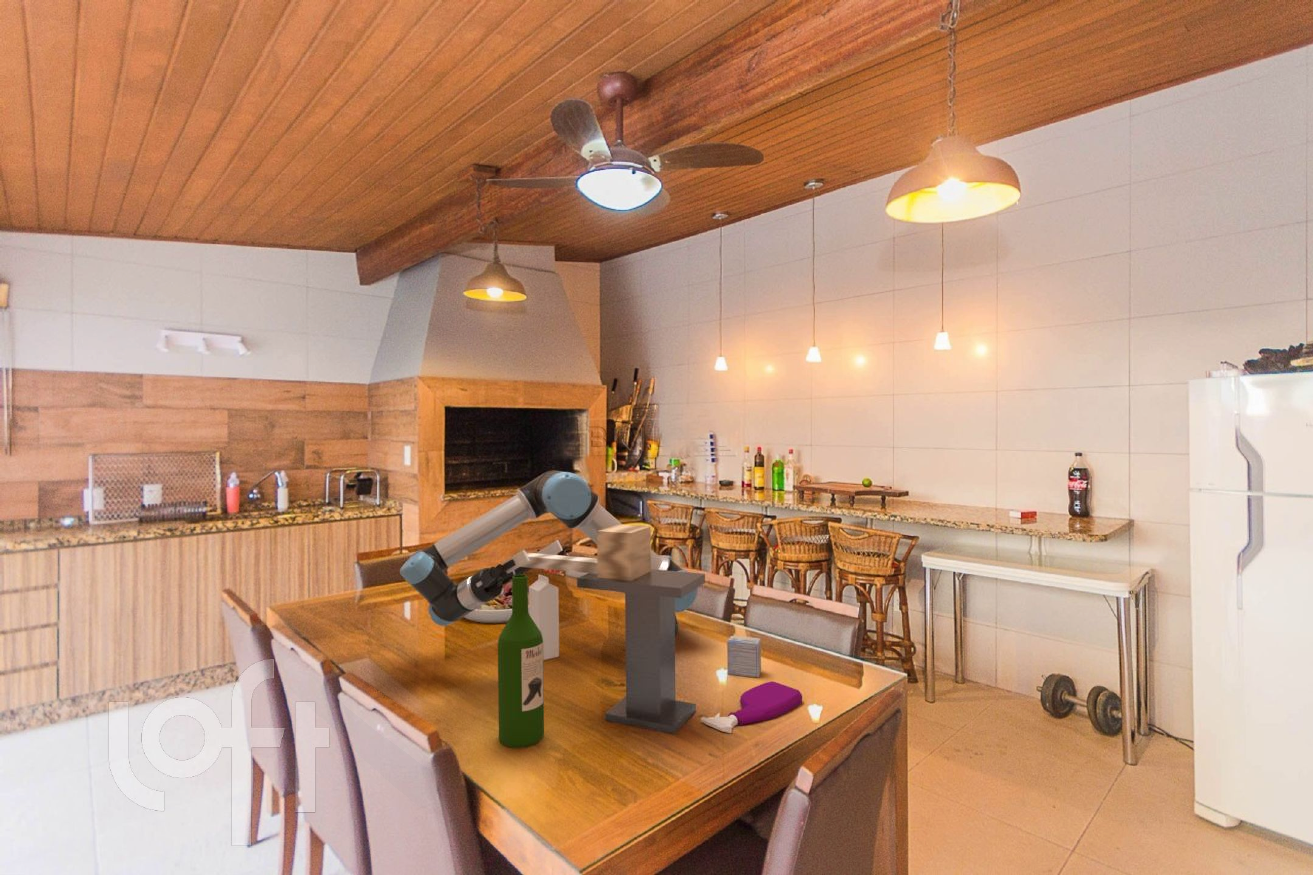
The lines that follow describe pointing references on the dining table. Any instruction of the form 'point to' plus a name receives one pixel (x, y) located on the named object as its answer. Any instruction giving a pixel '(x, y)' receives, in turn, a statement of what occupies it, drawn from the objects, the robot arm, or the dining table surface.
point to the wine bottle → (520, 674)
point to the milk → (545, 614)
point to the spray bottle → (758, 706)
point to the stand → (650, 647)
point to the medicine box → (744, 656)
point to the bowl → (495, 608)
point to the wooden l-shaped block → (606, 555)
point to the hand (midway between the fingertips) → (543, 549)
